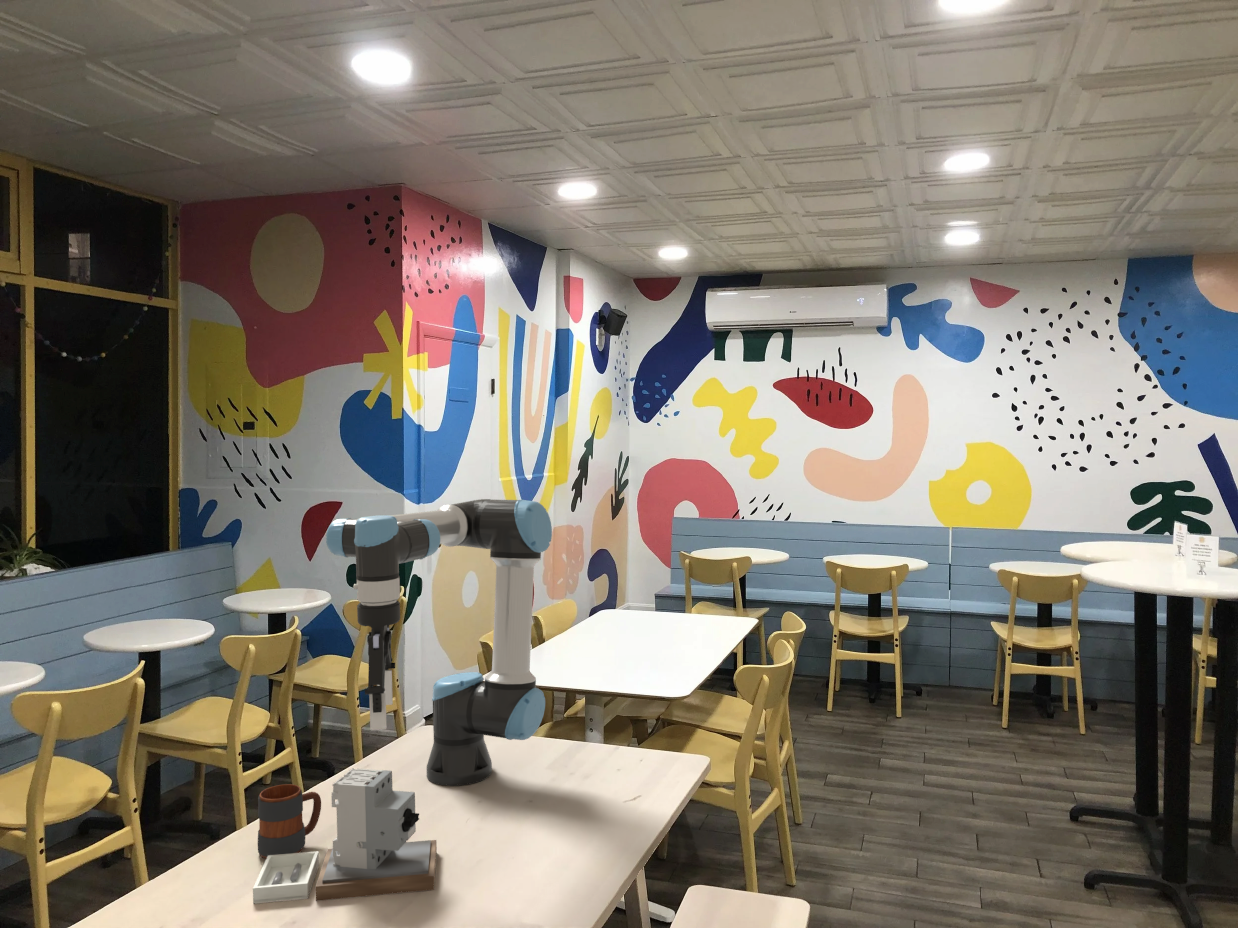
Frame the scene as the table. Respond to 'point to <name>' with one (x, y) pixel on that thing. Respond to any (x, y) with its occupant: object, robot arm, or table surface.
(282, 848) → the mug
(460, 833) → the table surface
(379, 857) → the circuit breaker
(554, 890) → the table surface
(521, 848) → the table surface
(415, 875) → the framed panel
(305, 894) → the tray
